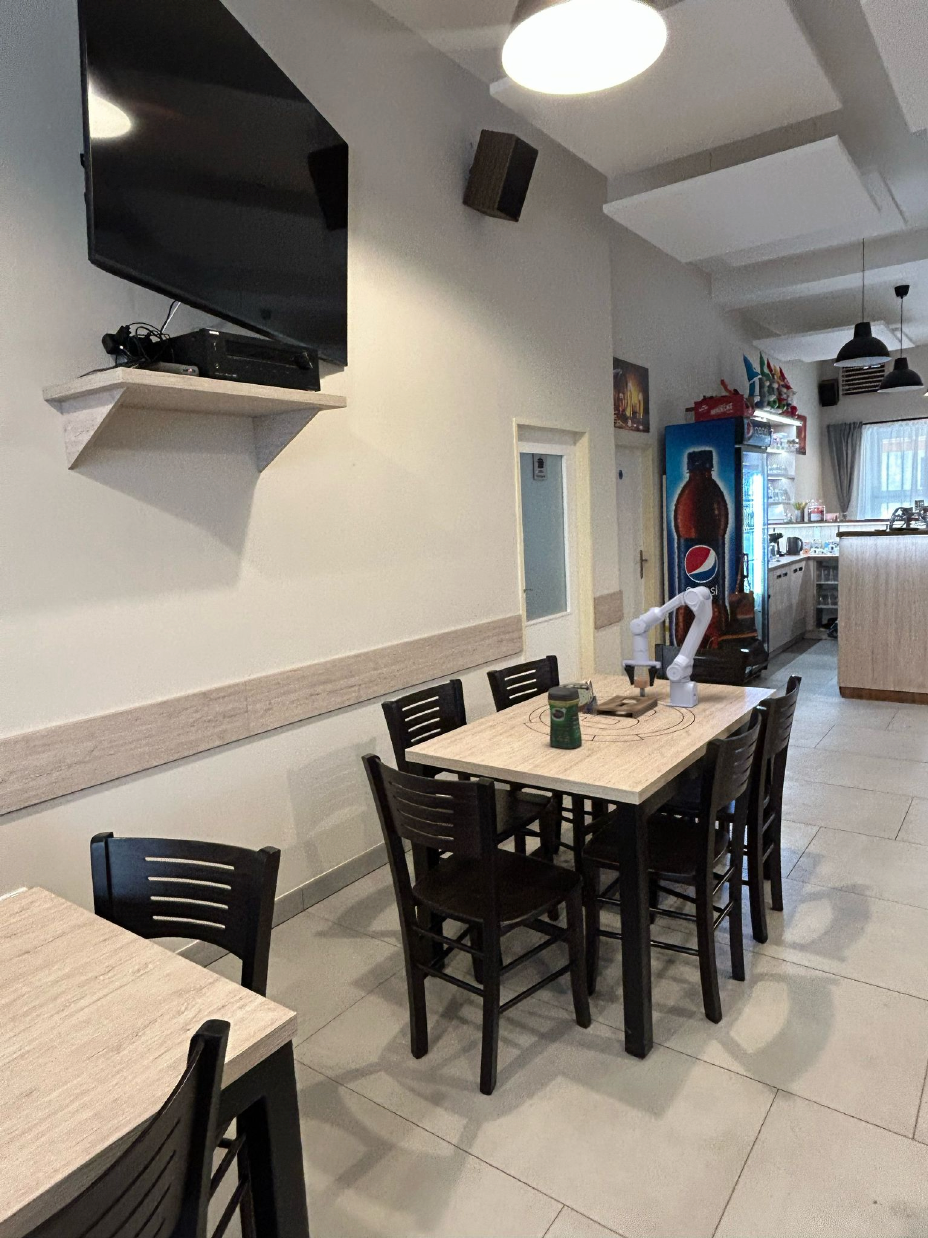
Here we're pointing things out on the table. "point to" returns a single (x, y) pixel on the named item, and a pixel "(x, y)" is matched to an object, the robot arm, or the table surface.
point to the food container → (580, 693)
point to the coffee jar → (564, 717)
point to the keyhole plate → (635, 708)
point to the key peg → (642, 685)
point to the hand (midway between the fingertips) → (642, 685)
